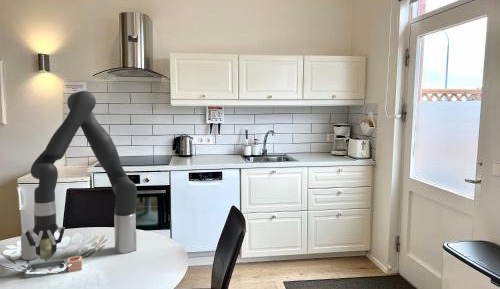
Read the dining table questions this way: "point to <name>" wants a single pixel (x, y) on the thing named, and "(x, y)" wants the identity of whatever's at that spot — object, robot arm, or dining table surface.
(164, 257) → the dining table surface
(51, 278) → the dining table surface
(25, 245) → the can
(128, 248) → the robot arm
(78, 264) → the cup
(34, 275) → the trough
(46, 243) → the cell
